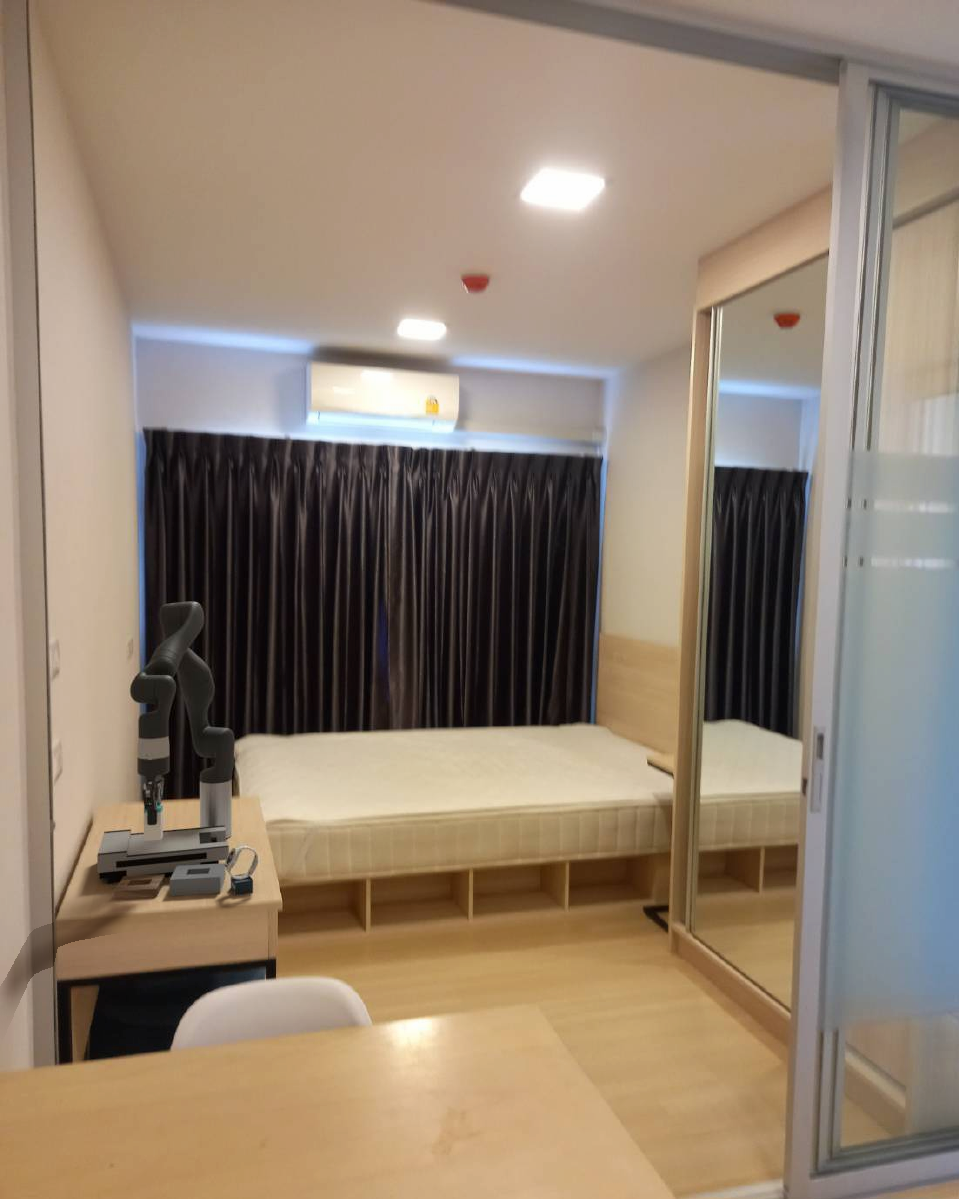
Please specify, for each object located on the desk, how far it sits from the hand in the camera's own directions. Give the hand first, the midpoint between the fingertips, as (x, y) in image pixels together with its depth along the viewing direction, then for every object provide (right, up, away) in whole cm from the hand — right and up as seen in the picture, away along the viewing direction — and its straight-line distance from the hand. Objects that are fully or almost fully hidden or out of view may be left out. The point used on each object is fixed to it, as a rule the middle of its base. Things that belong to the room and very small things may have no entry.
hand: (153, 822), depth 206 cm
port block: (+11, -17, +2) cm, 20 cm away
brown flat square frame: (-3, -17, 0) cm, 17 cm away
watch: (+22, -17, 0) cm, 28 cm away
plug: (0, -4, 0) cm, 4 cm away
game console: (-4, -17, +17) cm, 25 cm away
